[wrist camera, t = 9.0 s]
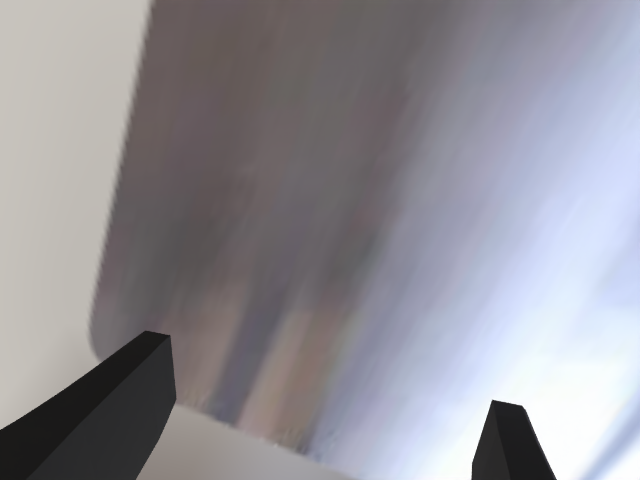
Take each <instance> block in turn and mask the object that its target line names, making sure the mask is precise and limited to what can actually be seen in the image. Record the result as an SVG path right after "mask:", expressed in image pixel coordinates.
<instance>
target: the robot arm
mask: <svg viewBox="0 0 640 480" xmlns="http://www.w3.org/2000/svg"><path fill="white" fill-rule="evenodd" d="M175 401H176V389H175V379H174V368H173V358H172V348H171V338H170V335H165V334H160V333H155V332H150V331H144V332H143V333H141V334H140V335H139V336H137V337H136V338H134V339H133V340H132V341H130V342H129V343H127V344H126V345H125V346H123V347H122V348H121V349H119V350H118V351H117V352H115V353H114V354H113V355H111V356H110V357H109V358H107V359H106V360H104V361H103V362H102V363H100V364H99V365H98V366H96V367H95V368H94V369H92V370H91V371H89V372H88V373H87V374H85V375H84V376H83V377H81V378H80V379H78V380H77V381H75V382H74V383H72V384H71V385H70V386H68V387H67V388H66V389H64V390H62V391H61V392H60V393H58V394H57V395H55V396H54V397H52V398H50V399H49V400H47V401H46V402H44V403H43V404H41V405H40V406H38V407H37V408H35V409H34V410H32V411H31V412H29V413H27V414H26V415H24V416H23V417H21V418H20V419H18V420H16V421H15V422H13V423H11V424H10V425H8V426H6V427H4V428H3V429H1V430H0V480H136V478H137V476H138V475H139V473H140V471H141V470H142V468H143V466H144V464H145V463H146V461H147V459H148V458H149V456H150V454H151V452H152V451H153V449H154V447H155V445H156V444H157V442H158V440H159V438H160V436H161V434H162V431H163V429H164V427H165V425H166V423H167V420H168V418H169V415H170V413H171V411H172V408H173V406H174V404H175ZM471 480H557V479H556V477H555V475H554V473H553V471H552V469H551V467H550V465H549V463H548V461H547V459H546V456H545V454H544V452H543V450H542V448H541V446H540V443H539V441H538V439H537V436H536V434H535V432H534V429H533V427H532V425H531V422H530V420H529V417H528V415H527V412H526V410H525V409H524V408H523V406H521V405H516V404H511V403H506V402H501V401H496V400H492V402H491V405H490V408H489V412H488V415H487V418H486V421H485V424H484V427H483V431H482V434H481V437H480V440H479V443H478V446H477V450H476V453H475V456H474V459H473V462H472V479H471Z"/></svg>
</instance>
